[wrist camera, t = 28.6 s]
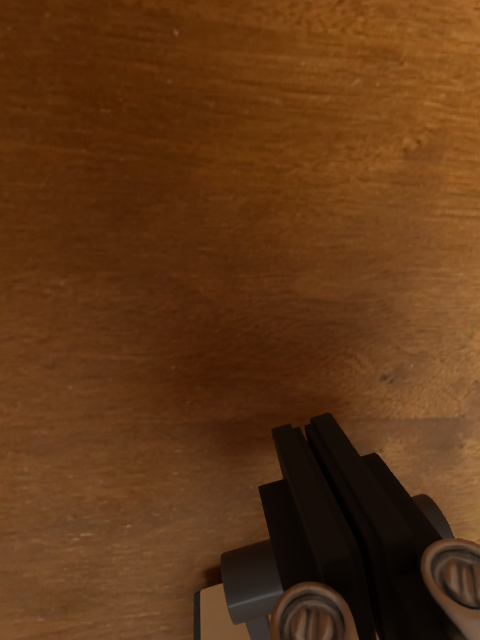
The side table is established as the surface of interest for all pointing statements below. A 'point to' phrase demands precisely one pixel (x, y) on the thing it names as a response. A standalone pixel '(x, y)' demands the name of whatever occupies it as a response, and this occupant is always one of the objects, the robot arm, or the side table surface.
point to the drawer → (263, 587)
